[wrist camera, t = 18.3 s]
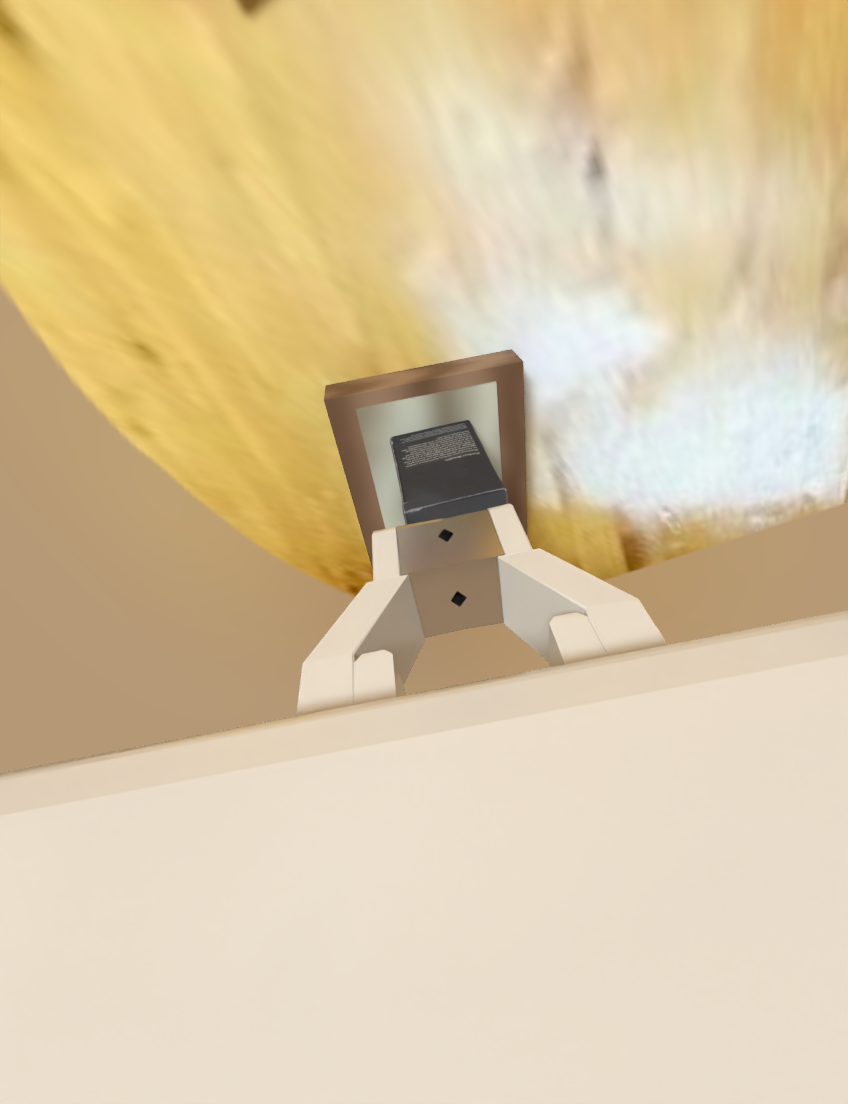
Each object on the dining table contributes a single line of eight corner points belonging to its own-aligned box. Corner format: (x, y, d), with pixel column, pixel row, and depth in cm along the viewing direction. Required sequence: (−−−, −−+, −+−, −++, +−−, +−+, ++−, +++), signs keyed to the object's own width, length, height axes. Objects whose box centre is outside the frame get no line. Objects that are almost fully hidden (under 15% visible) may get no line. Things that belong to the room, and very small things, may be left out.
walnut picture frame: (511, 349, 36) (524, 362, 33) (517, 524, 45) (528, 545, 43) (325, 385, 36) (323, 401, 33) (372, 552, 45) (373, 575, 43)
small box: (489, 531, 41) (523, 618, 33) (415, 547, 42) (431, 638, 33) (474, 415, 35) (512, 488, 27) (386, 436, 35) (397, 514, 27)
